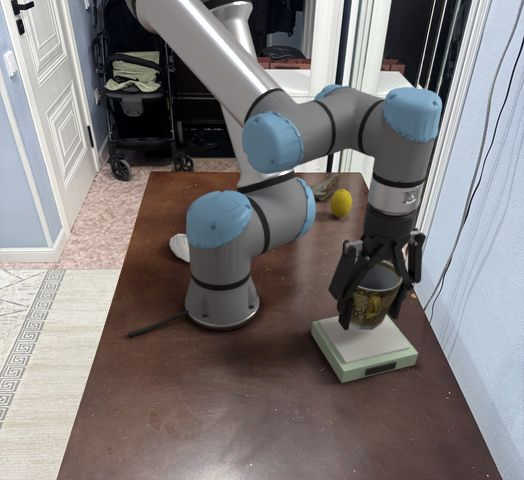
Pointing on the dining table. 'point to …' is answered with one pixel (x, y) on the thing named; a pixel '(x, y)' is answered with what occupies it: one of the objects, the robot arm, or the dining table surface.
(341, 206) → the lemon
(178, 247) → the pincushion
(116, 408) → the dining table surface
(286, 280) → the dining table surface
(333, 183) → the rock sample
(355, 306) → the ceramic cup
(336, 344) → the kitchen scale
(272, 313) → the dining table surface
